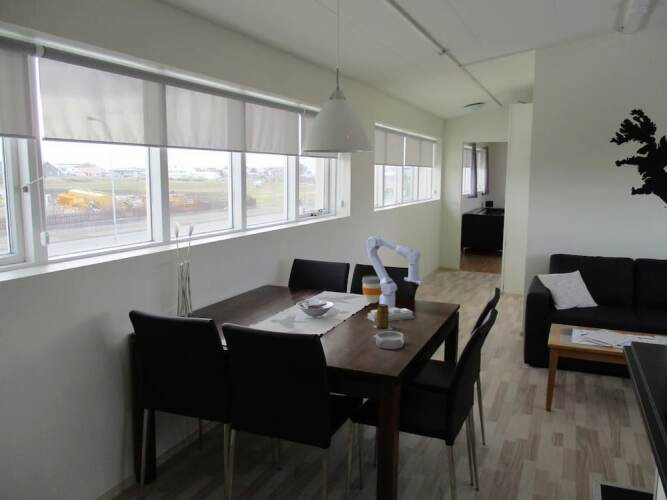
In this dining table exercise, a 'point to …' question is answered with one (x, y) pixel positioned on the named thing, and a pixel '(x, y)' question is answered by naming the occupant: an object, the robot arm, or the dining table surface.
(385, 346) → the dish
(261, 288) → the dining table surface
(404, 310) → the ivory key
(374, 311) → the sage key
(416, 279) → the robot arm
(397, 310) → the bluegrey key
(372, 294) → the reusable coffee cup
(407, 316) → the keypad
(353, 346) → the dining table surface
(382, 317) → the condiment
